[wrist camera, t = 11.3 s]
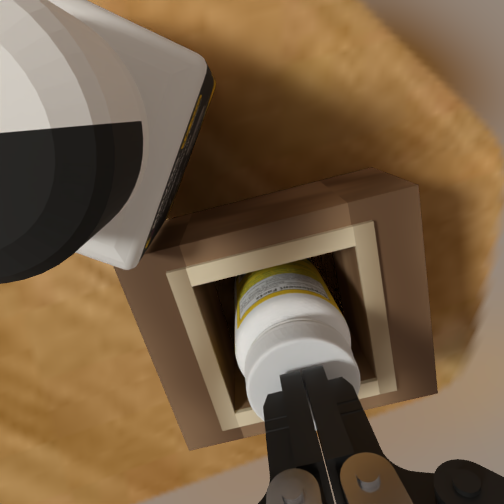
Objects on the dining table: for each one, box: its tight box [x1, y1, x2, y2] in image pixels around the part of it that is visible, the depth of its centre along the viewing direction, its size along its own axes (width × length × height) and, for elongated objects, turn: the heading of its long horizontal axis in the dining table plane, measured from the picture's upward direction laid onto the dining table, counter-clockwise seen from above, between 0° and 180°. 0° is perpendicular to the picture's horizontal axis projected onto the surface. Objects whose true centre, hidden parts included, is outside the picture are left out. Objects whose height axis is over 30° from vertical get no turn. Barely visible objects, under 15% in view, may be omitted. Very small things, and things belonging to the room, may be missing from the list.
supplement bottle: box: [234, 258, 360, 430], centre depth 17 cm, size 5×5×8 cm
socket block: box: [114, 167, 438, 451], centre depth 18 cm, size 12×10×5 cm
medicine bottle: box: [0, 0, 216, 284], centre depth 12 cm, size 7×7×12 cm
